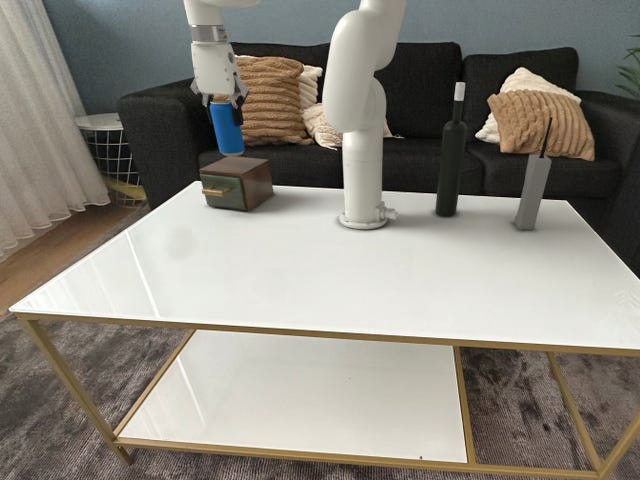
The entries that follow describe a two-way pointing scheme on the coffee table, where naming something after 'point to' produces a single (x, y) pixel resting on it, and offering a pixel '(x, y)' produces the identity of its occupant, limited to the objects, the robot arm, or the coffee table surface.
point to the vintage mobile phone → (533, 187)
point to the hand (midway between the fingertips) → (226, 123)
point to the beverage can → (226, 128)
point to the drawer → (223, 190)
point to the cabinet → (245, 178)
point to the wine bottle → (451, 158)
